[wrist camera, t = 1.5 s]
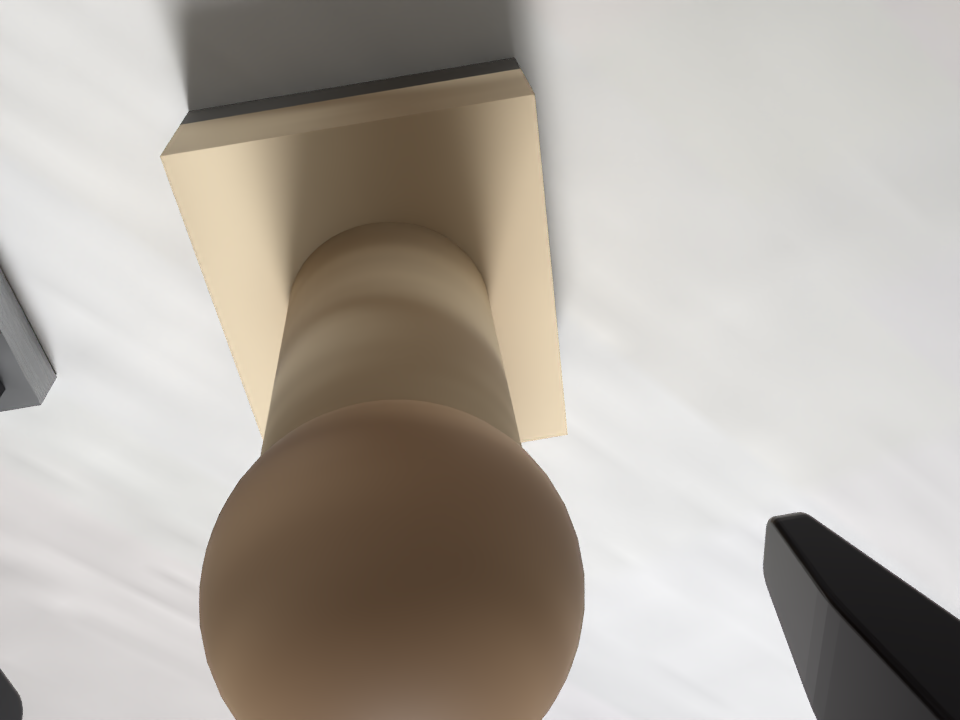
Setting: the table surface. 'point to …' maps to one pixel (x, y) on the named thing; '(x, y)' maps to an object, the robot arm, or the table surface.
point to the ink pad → (20, 356)
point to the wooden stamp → (385, 401)
